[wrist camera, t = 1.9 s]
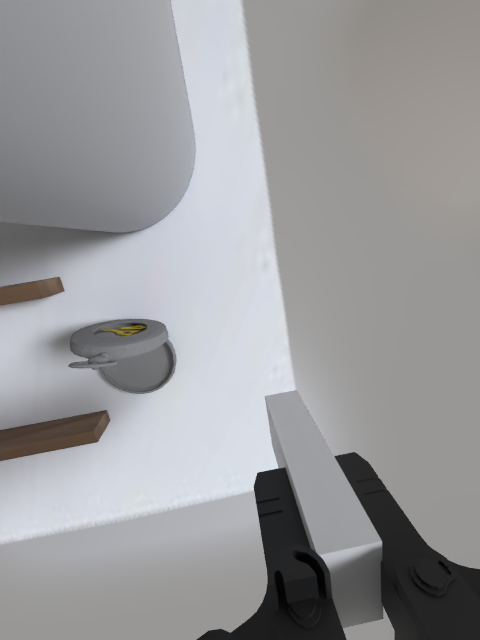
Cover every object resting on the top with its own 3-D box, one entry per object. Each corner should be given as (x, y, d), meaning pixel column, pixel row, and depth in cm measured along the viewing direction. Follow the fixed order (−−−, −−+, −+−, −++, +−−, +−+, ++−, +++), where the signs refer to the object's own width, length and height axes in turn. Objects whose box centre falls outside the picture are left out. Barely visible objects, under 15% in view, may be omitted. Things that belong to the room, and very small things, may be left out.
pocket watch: (135, 400, 26) (91, 490, 17) (74, 333, 24) (-19, 394, 14) (204, 355, 26) (198, 423, 16) (148, 282, 23) (102, 311, 14)
